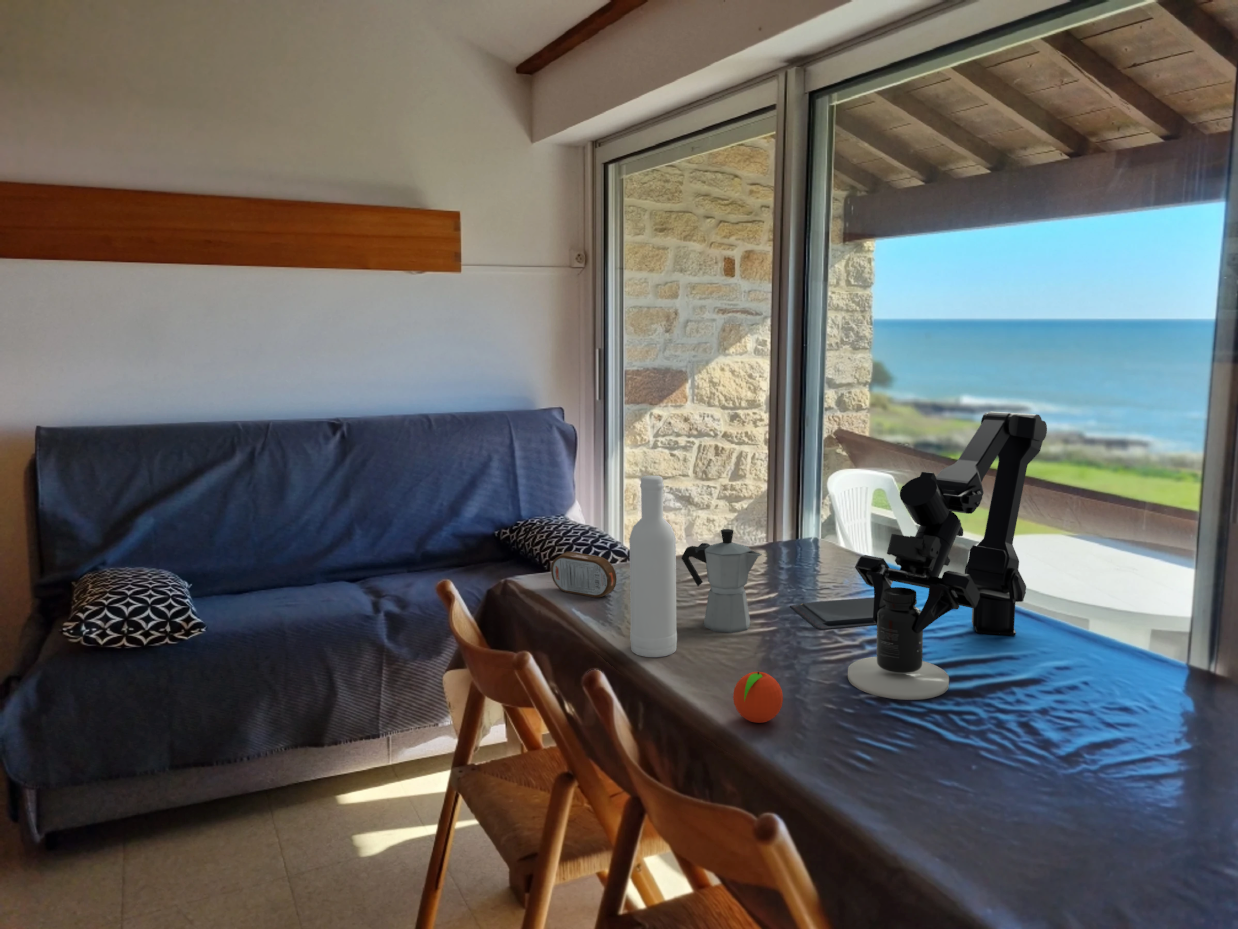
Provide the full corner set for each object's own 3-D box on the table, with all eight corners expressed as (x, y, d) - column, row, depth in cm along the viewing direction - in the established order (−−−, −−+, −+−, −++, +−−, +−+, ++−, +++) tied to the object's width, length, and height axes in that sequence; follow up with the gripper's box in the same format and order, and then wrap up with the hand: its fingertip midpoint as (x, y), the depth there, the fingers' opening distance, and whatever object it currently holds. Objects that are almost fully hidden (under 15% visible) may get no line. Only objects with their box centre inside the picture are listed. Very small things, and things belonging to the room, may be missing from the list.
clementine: (768, 738, 127) (768, 688, 126) (721, 727, 131) (721, 678, 130) (790, 717, 134) (791, 668, 133) (745, 707, 138) (745, 660, 136)
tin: (617, 597, 193) (617, 557, 192) (609, 601, 190) (608, 560, 189) (558, 587, 201) (557, 548, 200) (549, 591, 198) (548, 552, 197)
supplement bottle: (931, 671, 143) (932, 595, 142) (889, 676, 142) (890, 599, 140) (908, 656, 150) (909, 583, 148) (868, 660, 149) (869, 587, 147)
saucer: (945, 667, 152) (945, 660, 151) (952, 704, 137) (952, 696, 137) (849, 660, 156) (849, 653, 155) (845, 694, 141) (846, 687, 141)
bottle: (620, 650, 162) (618, 477, 157) (651, 638, 167) (649, 471, 163) (656, 661, 156) (654, 482, 152) (686, 649, 162) (685, 476, 158)
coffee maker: (765, 621, 176) (766, 526, 174) (756, 635, 168) (757, 537, 165) (688, 614, 181) (687, 522, 179) (675, 628, 173) (675, 532, 170)
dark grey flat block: (817, 623, 171) (788, 599, 185) (817, 633, 171) (788, 608, 186) (920, 616, 174) (884, 593, 189) (920, 626, 174) (883, 602, 189)
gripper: (862, 505, 152) (822, 587, 146) (973, 522, 139) (934, 612, 133) (886, 544, 159) (849, 623, 153) (995, 563, 145) (959, 651, 139)
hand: (895, 626), depth 144 cm, fingers closed on supplement bottle, 7 cm apart
